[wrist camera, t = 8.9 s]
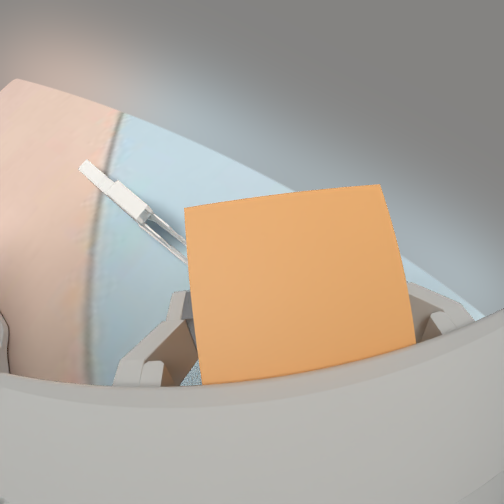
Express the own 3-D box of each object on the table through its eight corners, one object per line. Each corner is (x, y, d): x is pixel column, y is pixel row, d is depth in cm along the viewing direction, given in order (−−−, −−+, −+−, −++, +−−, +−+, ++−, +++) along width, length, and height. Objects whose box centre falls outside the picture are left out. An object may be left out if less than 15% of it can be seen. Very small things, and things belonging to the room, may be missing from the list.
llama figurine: (199, 257, 33) (91, 164, 29) (213, 257, 22) (63, 125, 19) (189, 270, 33) (82, 175, 29) (199, 276, 22) (48, 141, 18)
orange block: (239, 368, 14) (208, 421, 5) (227, 276, 15) (184, 208, 7) (332, 352, 14) (419, 377, 5) (317, 262, 15) (379, 184, 7)
